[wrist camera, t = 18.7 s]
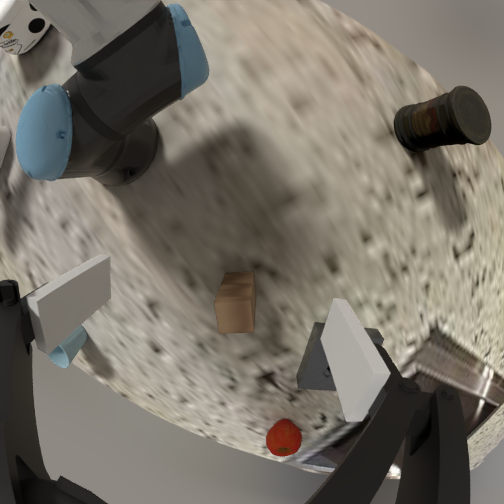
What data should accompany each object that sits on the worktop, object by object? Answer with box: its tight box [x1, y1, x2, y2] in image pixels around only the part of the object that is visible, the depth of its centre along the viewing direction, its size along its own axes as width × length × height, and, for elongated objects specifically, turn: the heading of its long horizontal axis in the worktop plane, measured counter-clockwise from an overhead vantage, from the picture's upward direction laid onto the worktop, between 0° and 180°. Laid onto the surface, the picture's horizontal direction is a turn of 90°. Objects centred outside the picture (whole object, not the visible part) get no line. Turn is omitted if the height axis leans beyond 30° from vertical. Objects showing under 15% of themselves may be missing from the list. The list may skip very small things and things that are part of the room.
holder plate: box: [296, 322, 384, 391], centre depth 50 cm, size 14×14×4 cm
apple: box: [266, 419, 302, 456], centre depth 53 cm, size 9×8×11 cm
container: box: [394, 86, 491, 152], centre depth 31 cm, size 9×9×18 cm
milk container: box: [0, 0, 51, 55], centre depth 24 cm, size 17×17×18 cm
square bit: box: [214, 271, 256, 334], centre depth 43 cm, size 5×5×12 cm
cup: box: [47, 325, 87, 368], centre depth 49 cm, size 8×8×10 cm
